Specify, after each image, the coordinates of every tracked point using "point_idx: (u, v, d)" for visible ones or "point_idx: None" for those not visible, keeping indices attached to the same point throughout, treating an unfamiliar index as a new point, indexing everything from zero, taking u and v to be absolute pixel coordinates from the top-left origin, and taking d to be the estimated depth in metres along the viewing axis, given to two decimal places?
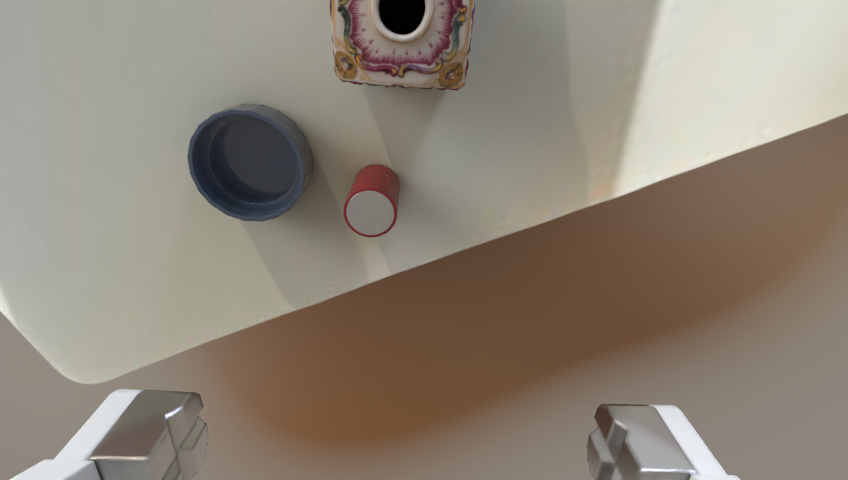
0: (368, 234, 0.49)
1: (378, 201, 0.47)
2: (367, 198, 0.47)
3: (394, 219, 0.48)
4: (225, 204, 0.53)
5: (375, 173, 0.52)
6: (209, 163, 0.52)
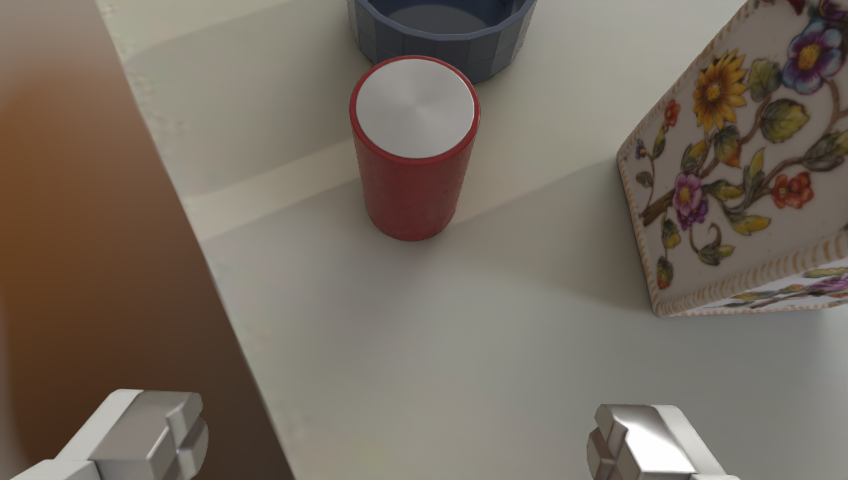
0: (357, 104, 0.19)
1: (450, 121, 0.19)
2: (451, 100, 0.20)
3: (405, 160, 0.18)
4: None
5: None
6: None
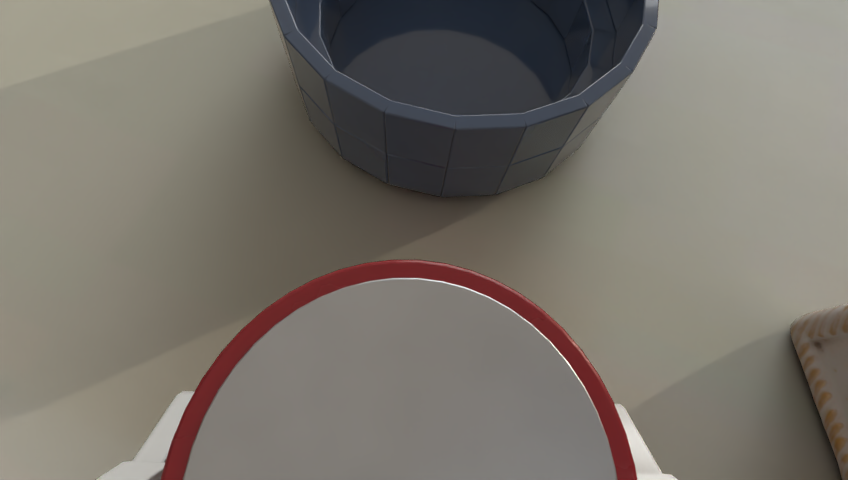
0: None
1: None
2: (536, 451, 0.05)
3: None
4: None
5: None
6: None
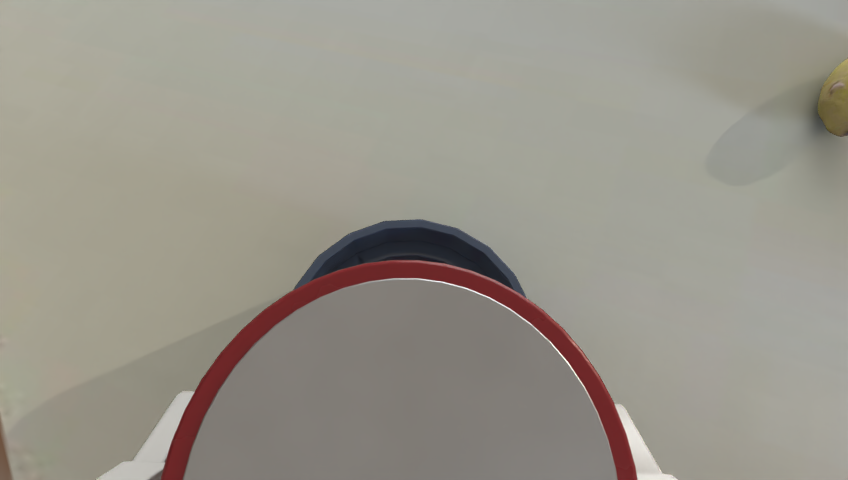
0: None
1: None
2: (536, 451, 0.05)
3: None
4: None
5: None
6: (399, 256, 0.26)
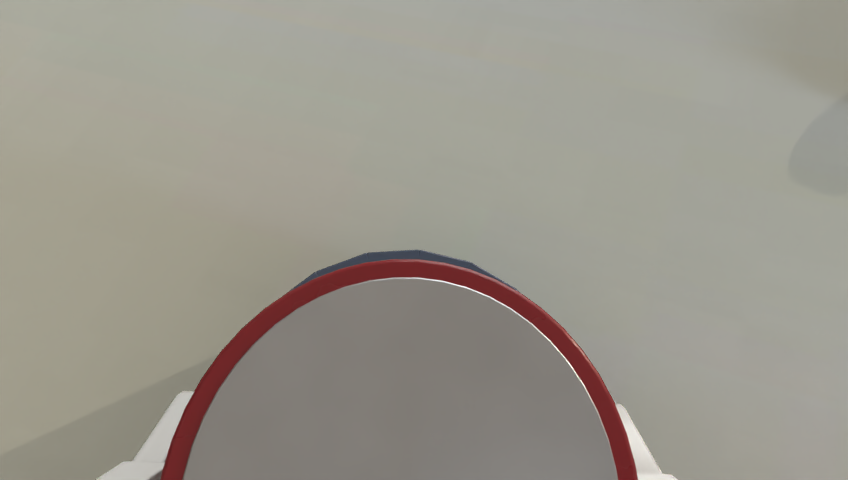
0: None
1: None
2: (537, 450, 0.05)
3: None
4: None
5: None
6: None
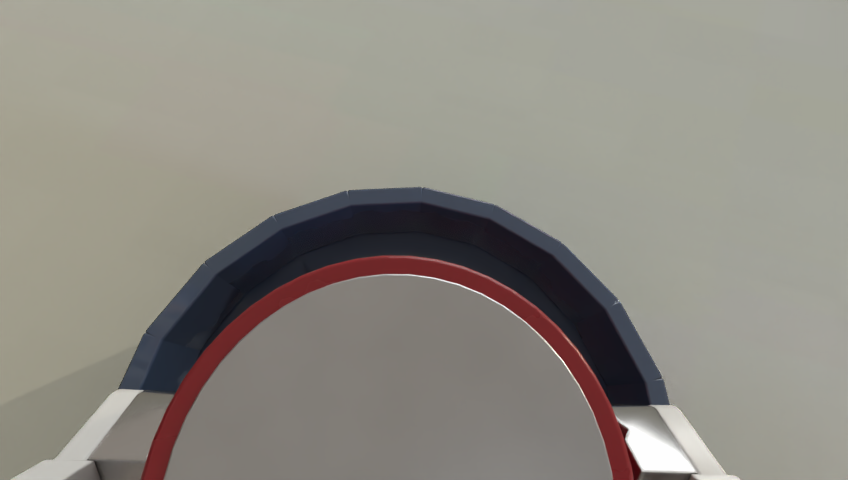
0: None
1: None
2: (529, 452, 0.05)
3: None
4: (202, 317, 0.11)
5: None
6: None
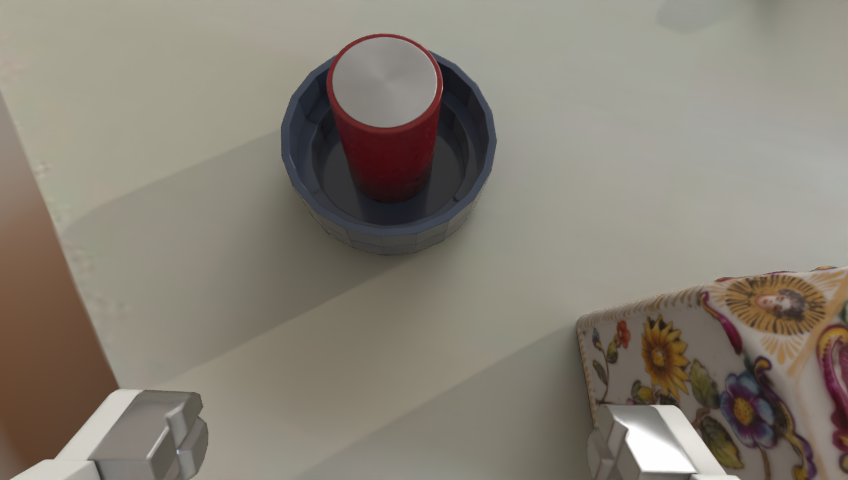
0: (333, 80, 0.22)
1: (415, 94, 0.22)
2: (417, 74, 0.22)
3: (376, 129, 0.21)
4: (309, 98, 0.28)
5: None
6: None
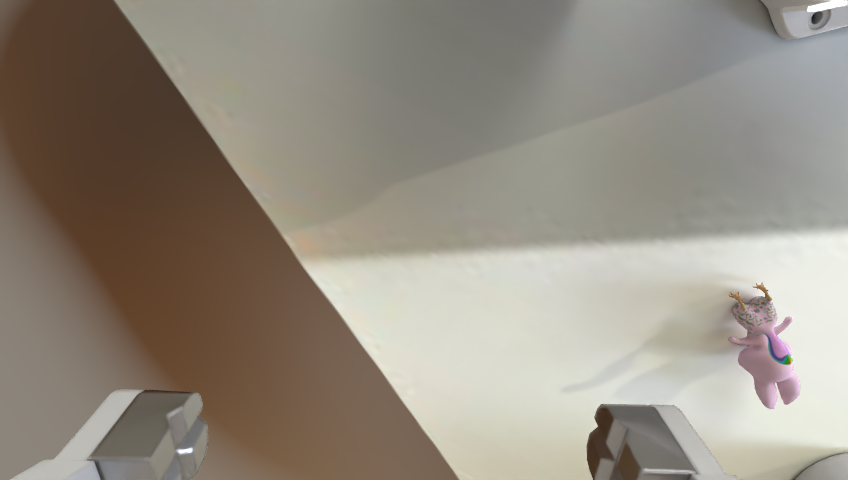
0: None
1: None
2: None
3: None
4: None
5: None
6: None
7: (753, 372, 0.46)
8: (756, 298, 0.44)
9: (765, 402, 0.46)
